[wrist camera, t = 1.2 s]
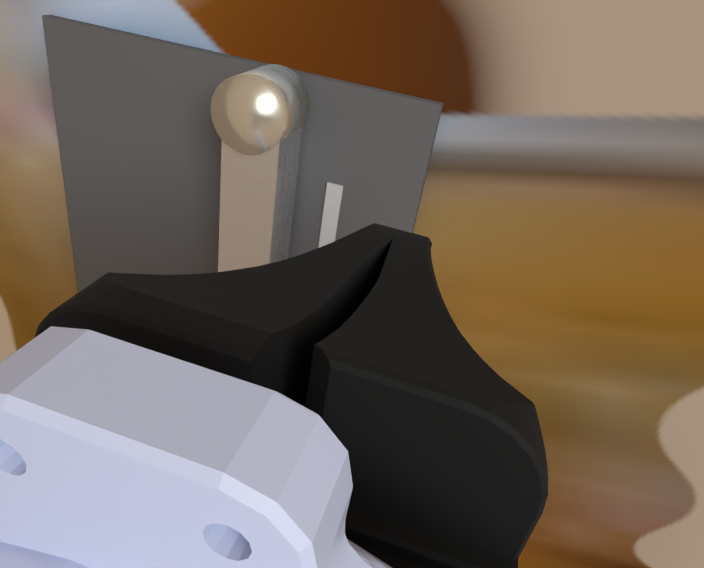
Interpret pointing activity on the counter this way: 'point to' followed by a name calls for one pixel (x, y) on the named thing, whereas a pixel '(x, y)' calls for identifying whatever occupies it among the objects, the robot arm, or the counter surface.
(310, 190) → the lock plate
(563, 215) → the counter surface
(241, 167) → the lever
